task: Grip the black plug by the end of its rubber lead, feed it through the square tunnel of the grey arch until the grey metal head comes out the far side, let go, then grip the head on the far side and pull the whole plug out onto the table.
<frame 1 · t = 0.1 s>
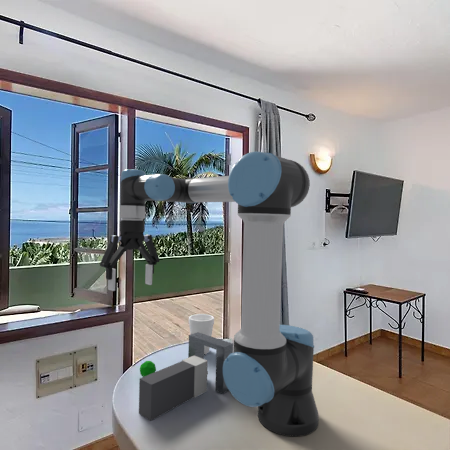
hand: (130, 287, 108), 28 cm above the table, tool pointing down, fingers open, 13 cm apart
foam cup: (200, 352, 129), on the table
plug: (174, 401, 94), on the table
grey arch: (209, 383, 104), on the table
polyhedron: (147, 377, 108), on the table
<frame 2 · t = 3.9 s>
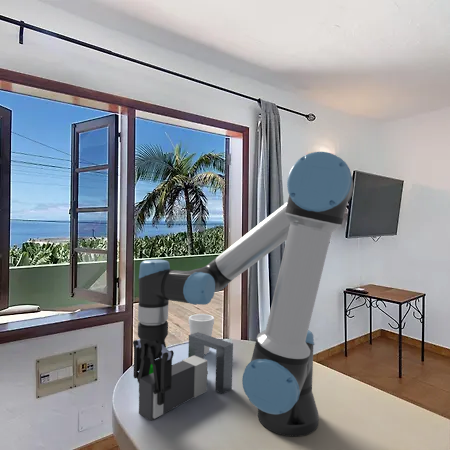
hand: (151, 411, 87), 1 cm above the table, tool pointing down, fingers closed on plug, 5 cm apart
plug: (174, 401, 94), on the table, touching gripper
everything else where it was.
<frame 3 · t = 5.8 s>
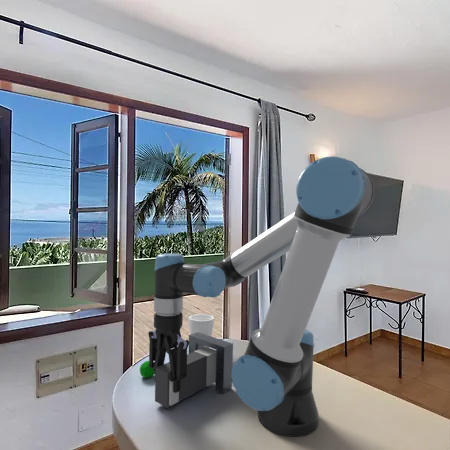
hand: (166, 399, 91), 2 cm above the table, tool pointing down, fingers closed on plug, 5 cm apart
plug: (188, 390, 97), point 1 cm above the table, touching gripper
everything else where it was.
when the fingers open (2 cm above the table, at t = 8.0 s): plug drops 1 cm, on the table.
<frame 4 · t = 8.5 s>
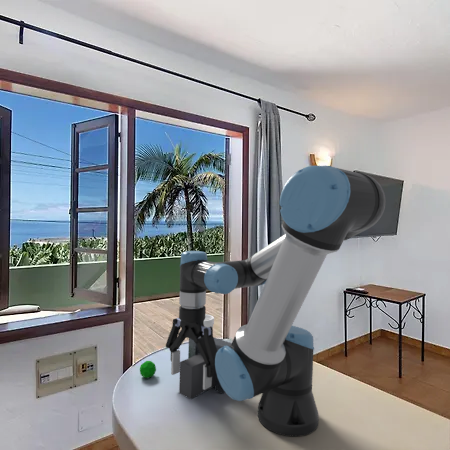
hand: (190, 380, 98), 4 cm above the table, tool pointing down, fingers open, 12 cm apart
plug: (209, 383, 104), on the table
everything else where it was.
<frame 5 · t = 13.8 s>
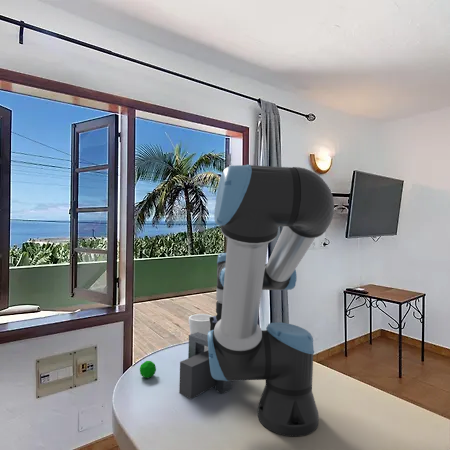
hand: (225, 372, 110), 1 cm above the table, tool pointing down, fingers closed on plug, 5 cm apart
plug: (208, 383, 104), on the table, touching gripper
everything else where it was.
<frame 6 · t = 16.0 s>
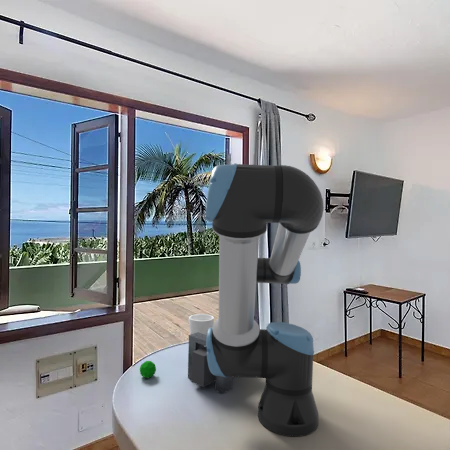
hand: (235, 363, 114), 2 cm above the table, tool pointing down, fingers closed on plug, 5 cm apart
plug: (219, 373, 108), point 2 cm above the table, touching gripper
everything else where it was.
when the fingers open (2 cm above the table, at t = 18.5 s): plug drops 2 cm, on the table.
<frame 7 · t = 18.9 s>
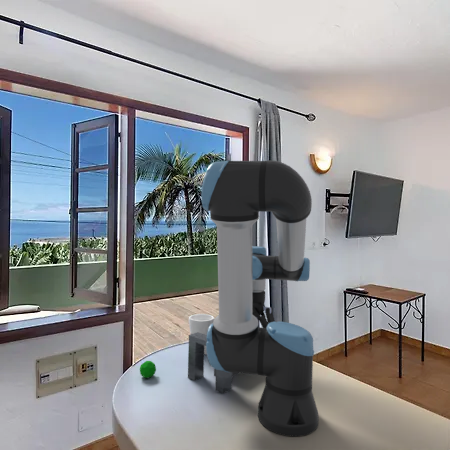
hand: (252, 350, 122), 3 cm above the table, tool pointing down, fingers open, 11 cm apart
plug: (238, 367, 116), on the table
everything else where it was.
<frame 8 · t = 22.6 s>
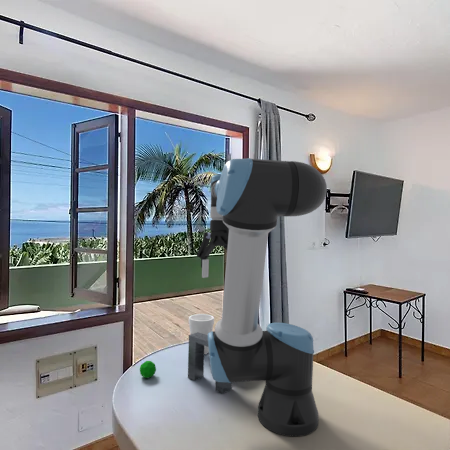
hand: (219, 279, 120), 29 cm above the table, tool pointing down, fingers open, 13 cm apart
nothing on the table moved.
at the end: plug inside the target area (0.1 cm from its centre), on the table; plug touching table; the gripper is holding nothing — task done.
